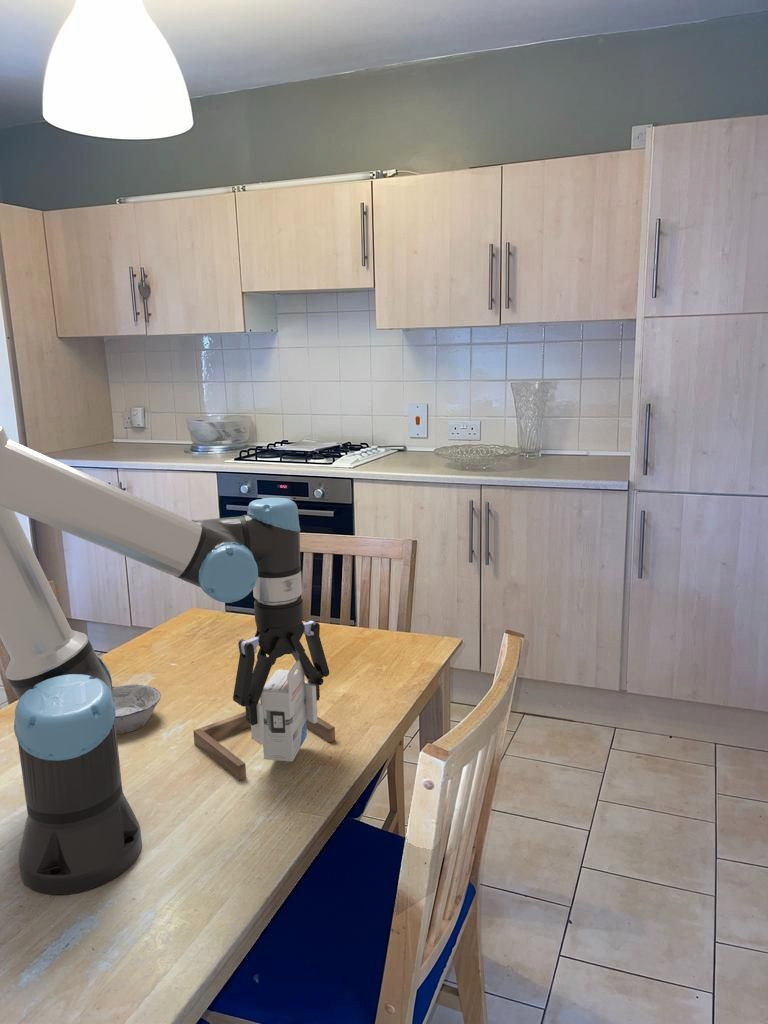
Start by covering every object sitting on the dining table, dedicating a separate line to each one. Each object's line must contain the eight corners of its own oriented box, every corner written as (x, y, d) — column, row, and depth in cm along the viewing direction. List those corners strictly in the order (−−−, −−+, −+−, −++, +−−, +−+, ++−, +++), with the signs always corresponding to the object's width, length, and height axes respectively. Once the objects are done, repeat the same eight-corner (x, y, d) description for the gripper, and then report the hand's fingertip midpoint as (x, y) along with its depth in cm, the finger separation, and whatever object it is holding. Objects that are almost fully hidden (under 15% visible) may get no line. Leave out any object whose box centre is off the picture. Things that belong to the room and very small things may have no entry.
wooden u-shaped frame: (239, 780, 120) (238, 766, 120) (194, 744, 132) (193, 730, 131) (335, 740, 132) (334, 726, 131) (286, 709, 143) (285, 697, 143)
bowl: (70, 731, 138) (67, 705, 137) (126, 701, 149) (123, 678, 148) (123, 747, 132) (120, 721, 130) (176, 715, 142) (174, 691, 141)
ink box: (279, 733, 131) (275, 651, 128) (308, 736, 130) (304, 652, 127) (262, 760, 123) (257, 672, 119) (292, 762, 122) (288, 674, 119)
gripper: (227, 621, 111) (237, 763, 116) (349, 587, 125) (353, 716, 130) (202, 608, 117) (212, 745, 121) (321, 577, 131) (326, 701, 135)
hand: (285, 730), depth 126 cm, fingers closed on ink box, 9 cm apart
